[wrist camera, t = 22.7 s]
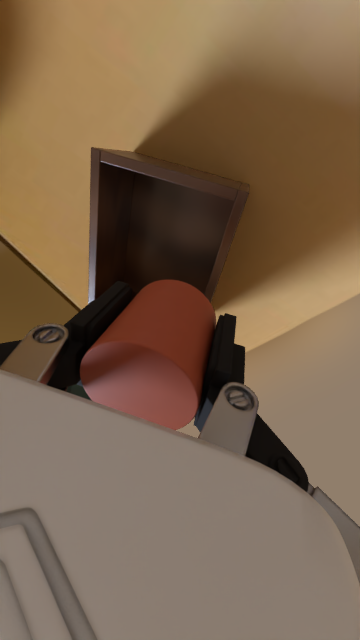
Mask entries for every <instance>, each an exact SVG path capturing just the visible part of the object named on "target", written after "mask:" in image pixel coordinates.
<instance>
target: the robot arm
mask: <svg viewBox="0 0 360 640" xmlns="http://www.w3.org/2000/svg"><path fill="white" fill-rule="evenodd" d="M131 300H132V288H130V286H129V284H127V283H124V282H120V281H117V282H116V283H115V284H113V285H112V286H111V287H110V288H109V289H108V290H107V291H105V292H104V293H103V294H102V295H101V296H100V297H98V298H97V299H96V300H93V301H92V302H90V303H89V304H88V305H87V306H86V307H85V308H83V309H82V310H81V311H80V312H79V313H78V314H77V315H75V316H74V317H73V318H72V319H71V320H70V321H68V322H67V323H66V324H65V325H64V326H63V325H60V324H56V323H47V324H42V325H38V326H36V327H34V328H33V329H32V330H30V331H29V333H28V334H27V335H26V336H25V338H24V339H23V340H19V341H13V342H7V343H2V344H0V640H360V527H359V526H358V525H357V524H356V523H355V522H354V521H353V520H352V519H351V518H350V517H349V516H348V515H347V514H346V513H345V512H344V511H343V510H342V509H341V508H340V507H338V506H337V505H336V504H335V503H334V502H333V501H332V500H331V499H330V498H329V497H328V496H327V495H326V494H325V493H324V492H323V491H322V490H321V489H320V488H319V487H316V488H314V487H313V486H312V485H311V484H310V483H309V482H308V477H307V474H306V472H305V470H304V468H303V467H302V465H301V464H300V462H299V461H298V460H297V459H296V458H295V457H294V455H293V454H292V453H291V452H290V451H289V450H288V448H287V447H286V446H285V445H284V444H283V443H282V442H281V440H280V439H279V438H278V437H277V436H276V435H275V433H274V432H273V431H272V430H271V429H270V428H269V427H268V425H267V424H266V423H265V422H264V421H263V420H262V418H260V416H259V415H258V414H257V410H258V404H259V402H258V398H257V396H256V395H255V393H254V392H253V391H252V390H251V389H250V388H249V387H247V386H246V385H244V367H245V347H244V346H240V345H237V344H234V338H235V327H236V316H233V315H229V314H226V313H225V315H224V316H223V315H220V316H219V319H218V322H217V325H216V328H215V332H214V336H213V341H212V346H211V350H210V355H209V359H208V364H207V369H206V373H205V378H204V383H203V389H202V395H201V400H200V404H199V409H198V411H197V414H196V415H195V421H194V425H195V426H196V427H197V428H198V430H199V431H200V435H199V437H198V438H195V437H192V436H190V435H186V434H184V433H181V432H178V431H176V430H173V429H170V428H167V427H164V426H162V425H159V424H156V423H153V422H150V421H148V420H145V419H142V418H139V417H136V416H133V415H131V414H128V413H125V412H122V411H119V410H116V409H114V408H111V407H108V406H105V405H102V404H99V403H96V402H94V401H91V400H88V399H85V398H82V397H79V396H76V395H74V394H71V393H70V391H71V388H72V386H73V385H76V384H77V385H79V386H82V387H83V385H82V382H81V378H80V365H81V361H82V358H83V357H84V355H85V353H86V352H87V351H88V350H89V349H90V348H91V347H92V345H93V344H94V343H95V342H96V341H97V340H98V339H99V337H100V336H101V335H102V334H103V333H104V332H105V331H106V329H107V328H108V327H109V326H110V325H111V324H112V323H113V322H114V320H115V319H116V318H117V317H118V316H119V315H120V314H121V312H122V311H123V310H124V309H125V308H126V307H127V306H128V304H129V303H130V302H131Z"/></svg>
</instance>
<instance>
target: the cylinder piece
mask: <svg viewBox="0 0 360 640" xmlns="http://www.w3.org/2000/svg"><path fill="white" fill-rule="evenodd" d="M215 328H216V316H215V312H214V309H213V307H212V305H211V303H210V302H209V300H208V299H207V298H206V297H205V295H204V294H203V293H202V292H200V291H199V290H198V289H196V288H195V287H193V286H191V285H190V284H187V283H185V282H182V281H178V280H159V281H155V282H152V283H150V284H148V285H147V286H145V287H144V288H143V289H142V290H141V291H140V292H139V293H138V294H137V295H136V296H135V298H134V299H133V300H132V301H131V302H130V303H129V304H128V306H127V307H126V308H125V309H124V310H123V311H122V312H121V314H120V315H119V316H118V317H117V318H116V319H115V320H114V322H113V323H112V324H111V325H110V326H109V327H108V328H107V329H106V331H105V332H104V333H103V334H102V335H101V336H100V337H99V339H98V340H97V341H96V342H95V343H94V344H93V345H92V347H91V348H90V349H89V350H88V351H87V352H86V353H85V355H84V357H83V358H82V361H81V365H80V378H81V382H82V385H83V387H84V389H85V391H86V393H87V394H88V396H89V397H90V399H91V400H92V401H94V402H96V403H99V404H102V405H105V406H108V407H111V408H114V409H116V410H119V411H122V412H125V413H128V414H131V415H133V416H136V417H139V418H142V419H145V420H148V421H150V422H153V423H156V424H159V425H162V426H164V427H167V428H170V429H173V430H177V429H180V428H182V427H184V426H186V425H187V424H188V423H189V422H191V420H192V419H193V418H194V417H195V415H196V414H197V411H198V409H199V404H200V400H201V395H202V389H203V383H204V378H205V373H206V369H207V364H208V359H209V355H210V350H211V346H212V341H213V336H214V332H215Z"/></svg>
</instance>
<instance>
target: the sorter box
mask: <svg viewBox="0 0 360 640" xmlns="http://www.w3.org/2000/svg"><path fill="white" fill-rule="evenodd" d="M248 194H249V185H248V184H244V183H241V182H237V181H234V180H230V179H227V178H223V177H220V176H216V175H213V174H209V173H206V172H202V171H199V170H195V169H192V168H188V167H185V166H181V165H178V164H174V163H171V162H167V161H164V160H160V159H157V158H153V157H150V156H146V155H143V154H139V153H136V152H130V151H121V150H112V149H103V148H93V147H92V148H91V182H90V240H89V297H88V304H89V303H90V302H92V301H93V300H96V299H97V298H98V297H100V296H101V295H102V294H103V293H104V292H105V291H107V290H108V289H109V288H110V287H111V286H112V285H113V284H115V283H116V282H117V281H120V282H124V283H127V284H129V286H130V288H132V300H133V299H134V298H135V296H136V295H137V294H138V293H139V292H140V291H141V290H142V289H143V288H144V287H145V286H147V285H148V284H150V283H152V282H155V281H159V280H178V281H182V282H185V283H187V284H190V285H191V286H193V287H195V288H196V289H198V290H199V291H200V292H202V293H203V294H204V295H205V297H206V298H207V299H208V300H209V302H210V303H211V300H212V297H213V295H214V292H215V289H216V286H217V283H218V280H219V277H220V274H221V272H222V269H223V266H224V263H225V260H226V257H227V254H228V252H229V249H230V246H231V243H232V240H233V237H234V234H235V232H236V229H237V226H238V223H239V220H240V217H241V214H242V211H243V209H244V206H245V203H246V200H247V197H248ZM132 300H131V301H132Z"/></svg>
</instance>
